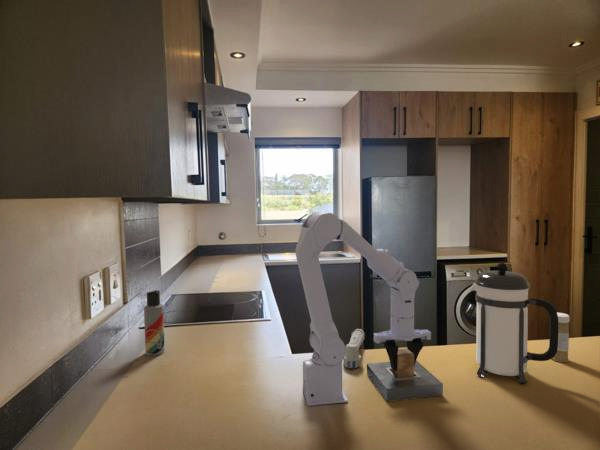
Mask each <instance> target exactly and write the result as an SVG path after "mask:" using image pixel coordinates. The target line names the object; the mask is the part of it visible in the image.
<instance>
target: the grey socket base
mask: <svg viewBox="0 0 600 450" xmlns="http://www.w3.org/2000/svg"><path fill="white" fill-rule="evenodd" d="M366 375H367V376H368V378H369V380H370V381H371V383H372V384H375V385H374V386H375V388H376V389H377V388H378V389H377V390H378V392H379V391H380V392H381V393H380V392H379V393H380V394H381V396H382V395H383V396H382V397H383V398H384V399H386V400H385V401H386V402H393V400H397V401H404V399H407V400H414V399H413V398H417V399H424V398H423V397H427V398H434V397H435V398H437V397H443V396H444V389H443V388H444V384H443V382H442V381H441V380H439V379H438V378H437V377H436V376H435V375H434V374H433V373H431V372H430V371H429V370H428V369H427V368H425V366H423V365H422V364H421V362H419V361H418V360H417V359H416V363H415V366H414V376H411V377H400V378H397V377H396V376H395V375H394V374H393V373H392V368H391V364H390V361H384V362H373V363H372V362H371V363H370V362H369V363H366Z"/></svg>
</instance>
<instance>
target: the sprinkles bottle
mask: <svg viewBox="0 0 600 450" xmlns="http://www.w3.org/2000/svg"><path fill="white" fill-rule="evenodd" d="M556 312H557V311H556ZM557 315H558V349H557V353H556V355H555V356H554V357H553V358H552V359H551V360H552V361H555V362H558V363H559V362H560V363H568V362H569V345H570V344H569V343H570V342H569V341H570V332H569V329H570V328H569V327H570V325H569V324H570V321H571V320H570V315H569V314H567V313H564V312H557Z"/></svg>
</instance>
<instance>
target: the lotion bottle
mask: <svg viewBox="0 0 600 450" xmlns="http://www.w3.org/2000/svg"><path fill="white" fill-rule="evenodd" d="M160 293H161V292H160V290H158V289H156V290H151V291H147V292H146V305H144V307H143V318H144V320H143V321H144V348H145V350H144V351H145V355H146V356H148V357H152V356H158V355H162V354H164V353H165V350H166V349H165V321H164V320H165V319H164V304H163V303H161V297H160V295H161V294H160Z"/></svg>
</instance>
